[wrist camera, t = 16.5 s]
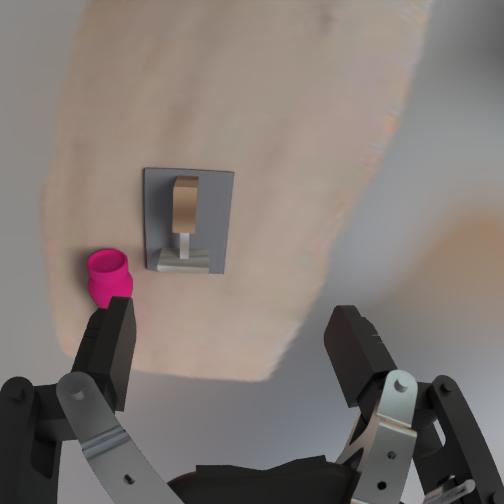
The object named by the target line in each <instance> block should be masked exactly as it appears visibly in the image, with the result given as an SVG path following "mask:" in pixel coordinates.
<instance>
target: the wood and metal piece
mask: <svg viewBox="0 0 504 504" xmlns="http://www.w3.org/2000/svg"><path fill="white" fill-rule="evenodd" d="M198 183H199V176H179V175H178V177H177V179H176V182H175V184H174V190H173V233H180V248H166V247H162V250H161V254H160V257H159V261H158V265H157V270H158V272H171V273H191V274H209V250H206V249H189V233H191V234H195V225H196V215H197V198H198Z"/></svg>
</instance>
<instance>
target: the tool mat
mask: <svg viewBox="0 0 504 504" xmlns="http://www.w3.org/2000/svg"><path fill="white" fill-rule="evenodd" d="M178 175H179V176H199V183H198V198H197V215H196V225H195V234H191V233H189V249H206V250H209V273H213V274H224V267H225V257H226V246H227V236H228V226H229V217H230V207H231V198H232V189H233V180H234V172H228V171H214V170H197V169H177V168H145V230H146V252H147V268H148V270H152V271H158V270H157V265H158V261H159V257H160V254H161V250H162V247H166V248H180V233H173V190H174V184H175V182H176V179H177V177H178Z"/></svg>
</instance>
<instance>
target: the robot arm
mask: <svg viewBox="0 0 504 504" xmlns="http://www.w3.org/2000/svg"><path fill="white" fill-rule="evenodd" d="M135 343H136V322H135V315H134V307H133V300H132V298H131V297H123V296H112V297H111V300H110V302H109V305H108V308H107V309H105V308H98V309H97V311H96V312H95V313H94V314H93V315H92V316H91V317H90V319H89V322H88V324H87V329H86V330H85V333H84V335H83V338H82V341H81V344H80V346H79V349H78V352H77V355H76V358H75V361H74V364H73V367H72V370H71V372H70V373H68V374H66V375H64V376H63V377H62V378H61V379H60V380H59V382H58V383H56V384H52V385H42V386H33V385H32V383H31V382H30V381H29V380H28V379H26V378H24V377H13V378H11V379H9V380H8V381H7V382H5V384H4V385H3V386H2V388H1V391H0V504H57V492H58V477H59V465H60V456H61V447H62V441H66V440H76V439H78V441H79V442H80V445H81V447H82V452H83V454H84V456H85V458H86V460H87V462H88V463H89V465H90V467H91V468H92V470H93V472H94V473H95V475H96V476H97V478H98V480H99V481H100V483H101V484H102V486H103V487H104V489H105V490H106V492H107V493H108V494H109V496H110V497H111V499H112V500H113V502H114V503H115V504H404V503H402V502H401V501H400V499H401V496H402V492H403V489H404V486H405V482H406V479H407V475H408V472H409V468H410V464H411V460H412V458H413V461H414V464H415V466H416V470H417V473H418V476H419V479H420V482H421V485H422V488H423V491H424V495H425V498H424V501H423V504H504V486H503V483H502V481H501V478H500V475H499V473H498V470H497V468H496V465H495V463H494V460H493V458H492V455H491V453H490V451H489V449H488V446H487V444H486V442H485V439H484V437H483V435H482V433H481V431H480V428H479V426H478V424H477V422H476V420H475V418H474V416H473V414H472V412H471V410H470V408H469V406H468V404H467V402H466V400H465V398H464V396H463V394H462V393H461V391H460V389H459V387H458V385H457V383H456V382H455V381H454V380H453V379H451V378H450V377H448V376H445V375H440V376H437V377H436V378H435V379H434V381H433V382H432V383H423V382H416V380H415V379H414V378H413V376H411V375H410V374H409V373H407V372H405V371H403V370H398V369H397V367H396V365H395V363H394V361H393V359H392V358H391V356H390V354H389V352H388V351H387V349H386V347H385V345H384V344H383V343H382V340H381V338H380V336H378V333H377V331H376V329H375V327H374V326H373V324H371V323H370V322H369V321H368V320H367V319H366V318H365V317H361V315H360V313H359V312H358V310H357V308H356V307H355V306H354V305H340V306H339V305H338V306H336V307H335V308H334V310H333V313H332V315H331V318H330V321H329V323H328V326H327V328H326V330H325V333H324V345H325V348H326V350H327V353H328V355H329V358H330V360H331V363H332V366H333V368H334V371H335V373H336V376H337V378H338V381H339V384H340V386H341V389H342V392H343V394H344V397H345V399H346V402H347V405H348V407H349V408H351V407H357V406H359V408H360V412H359V413H358V415H357V417H356V420H355V423H354V426H353V428H352V431H351V433H350V435H349V438H348V440H347V443H346V445H345V447H344V450H343V451H342V453H341V454H340V456H339V457H338V458H337V460H336V462H335V463H333V462H327V461H326V458H325V455H322V456H316V457H309V458H303V459H296V460H293V461H291V462H288V463H285V464H283V465H280V466H277V467H274V468H271V469H268V470H256V469H249V468H243V467H237V466H232V465H196V471H195V472H190V473H187V474H184V475H181V476H179V477H176V478H175V479H173V480H171V481H169V482H168V483H166V482H165V481H164V480H163V479H162V478H161V477H160V475H159V474H158V473H157V472H156V470H155V469H154V468H153V467H152V465H151V464H150V463H149V461H148V460H147V459H146V458H145V456H144V455H143V454H142V452H141V451H140V450H139V448H138V447H137V445H136V444H135V443H134V441H133V440H132V438H131V437H130V436H129V434H128V433H127V432H126V430H124V429H123V427H122V426H121V425H120V423H119V422H118V420H117V419H116V417H115V411H122V412H123V411H124V406H125V399H126V393H127V386H128V380H129V374H130V369H131V363H132V358H133V353H134V348H135ZM437 419H438V421H439V423H440V425H441V428H442V430H443V432H444V435H445V438H446V441H445V445H444V446H442V443H441V441H440V438H439V436H438V434H437V431H436V429H435V426H434V424H433V422H435V421H436V420H437Z"/></svg>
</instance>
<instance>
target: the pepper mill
mask: <svg viewBox="0 0 504 504" xmlns="http://www.w3.org/2000/svg"><path fill="white" fill-rule="evenodd" d="M87 269H88V274H89V276H90V278H89V280H88V289H89V292H90V295H91V297H92V298H93V300H94V301H95V303H96V304H97V305H98V306H99V307H100V308H105V309H107V308H108V305H109V302H110V300H111V297H112V296H123V297H131V295H132V290H133V279H132V276H131V274H130V273H129V272H128V259H127V256H126V255H125V254H124V253H123V252H121V251H119V250H115V249H105V250H100V251H98V252H96V253H94V254H92V255H91V256H90V257H89V259H88V261H87Z"/></svg>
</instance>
